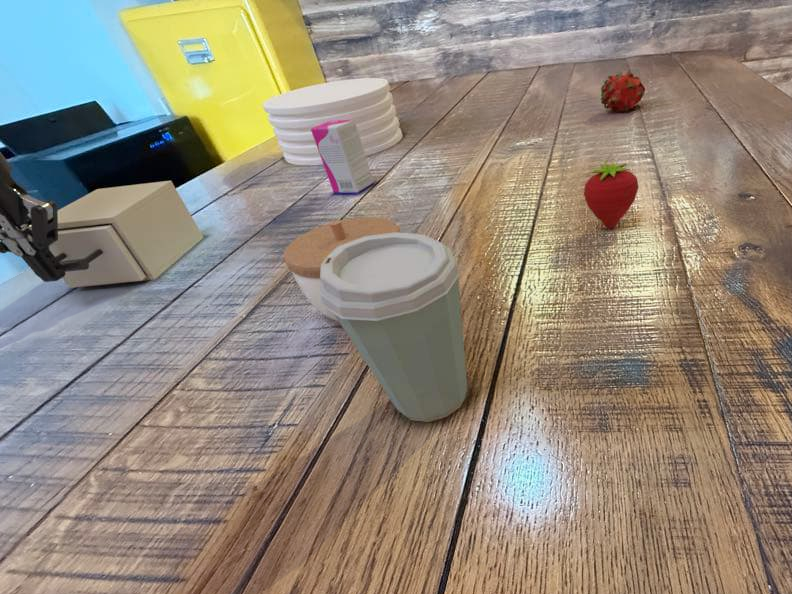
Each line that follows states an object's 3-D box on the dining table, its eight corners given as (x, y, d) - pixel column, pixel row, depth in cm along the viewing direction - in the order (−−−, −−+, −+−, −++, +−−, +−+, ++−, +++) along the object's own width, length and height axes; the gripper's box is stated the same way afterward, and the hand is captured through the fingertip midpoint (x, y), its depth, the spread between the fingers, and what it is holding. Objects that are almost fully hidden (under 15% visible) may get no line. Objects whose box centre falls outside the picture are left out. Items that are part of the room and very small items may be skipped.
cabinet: (155, 280, 76) (112, 217, 69) (77, 288, 77) (28, 226, 70) (204, 238, 87) (171, 180, 80) (135, 246, 88) (97, 189, 81)
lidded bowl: (311, 304, 65) (272, 219, 58) (407, 275, 68) (381, 191, 61) (322, 354, 56) (277, 261, 49) (432, 319, 59) (405, 226, 52)
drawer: (122, 297, 71) (82, 243, 65) (46, 304, 71) (1, 252, 66) (190, 240, 84) (161, 192, 79) (125, 247, 85) (93, 200, 80)
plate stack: (300, 175, 109) (276, 114, 101) (274, 150, 127) (252, 98, 119) (420, 141, 118) (406, 84, 111) (379, 123, 137) (365, 73, 129)
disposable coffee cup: (492, 362, 51) (460, 216, 41) (486, 439, 43) (445, 281, 33) (389, 373, 52) (334, 231, 42) (364, 450, 44) (289, 298, 34)
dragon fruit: (596, 123, 119) (639, 120, 124) (614, 103, 112) (659, 101, 116) (588, 86, 119) (631, 85, 123) (606, 63, 111) (651, 62, 115)
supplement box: (376, 184, 98) (355, 118, 91) (358, 196, 94) (335, 128, 87) (351, 184, 100) (329, 119, 93) (333, 195, 96) (308, 128, 89)
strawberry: (645, 229, 71) (647, 152, 64) (594, 241, 69) (591, 164, 63) (627, 215, 75) (628, 141, 68) (579, 226, 74) (575, 152, 67)
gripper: (20, 120, 58) (120, 261, 70) (-83, 133, 59) (31, 270, 71) (-36, 138, 53) (82, 288, 64) (-149, 152, 54) (-13, 297, 65)
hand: (55, 278), depth 67 cm, fingers closed
